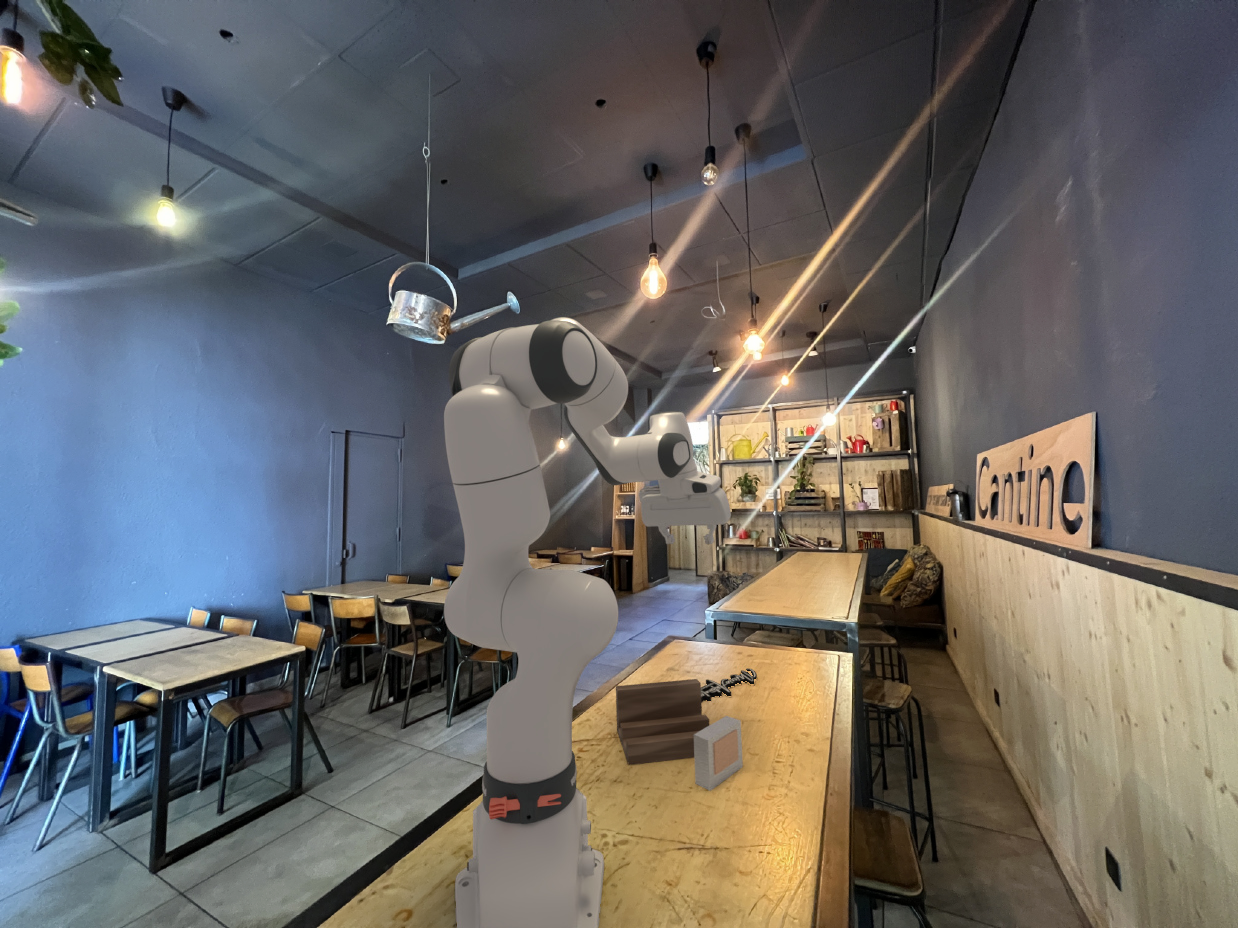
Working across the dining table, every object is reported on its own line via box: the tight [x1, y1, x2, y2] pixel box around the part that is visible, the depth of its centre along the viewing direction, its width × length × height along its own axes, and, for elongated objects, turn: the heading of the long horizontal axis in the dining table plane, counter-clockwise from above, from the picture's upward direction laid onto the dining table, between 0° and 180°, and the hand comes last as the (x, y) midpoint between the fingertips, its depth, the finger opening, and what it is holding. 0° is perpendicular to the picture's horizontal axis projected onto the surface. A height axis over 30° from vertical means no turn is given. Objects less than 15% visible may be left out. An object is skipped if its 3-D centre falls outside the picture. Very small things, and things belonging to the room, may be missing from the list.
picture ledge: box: [615, 678, 711, 766], centre depth 96 cm, size 14×18×9 cm
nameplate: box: [701, 668, 758, 704], centre depth 123 cm, size 27×2×10 cm
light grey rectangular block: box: [693, 715, 744, 792], centre depth 84 cm, size 3×10×8 cm, turn 134°
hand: (689, 543), depth 107 cm, fingers open, 8 cm apart
